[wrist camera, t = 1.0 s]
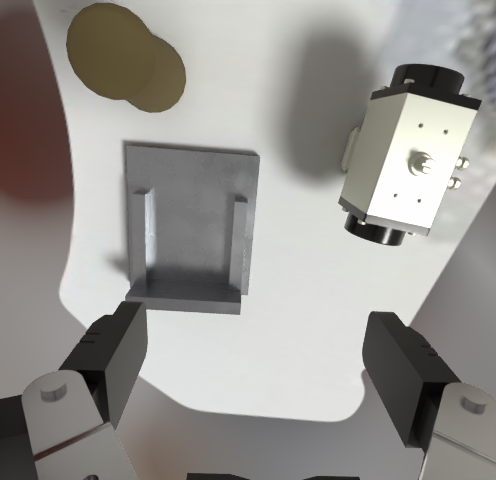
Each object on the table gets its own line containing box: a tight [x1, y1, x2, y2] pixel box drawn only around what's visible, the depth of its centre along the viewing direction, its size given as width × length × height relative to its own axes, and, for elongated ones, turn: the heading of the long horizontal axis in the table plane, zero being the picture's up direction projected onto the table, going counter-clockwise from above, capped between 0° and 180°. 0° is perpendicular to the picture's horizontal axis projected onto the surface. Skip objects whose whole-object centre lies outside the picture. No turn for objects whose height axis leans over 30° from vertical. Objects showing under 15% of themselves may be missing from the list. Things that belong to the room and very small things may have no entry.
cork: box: [66, 3, 186, 113], centre depth 24 cm, size 6×6×11 cm
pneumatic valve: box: [338, 64, 482, 246], centre depth 27 cm, size 6×12×12 cm, turn 167°
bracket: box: [125, 145, 260, 315], centre depth 32 cm, size 14×12×5 cm
